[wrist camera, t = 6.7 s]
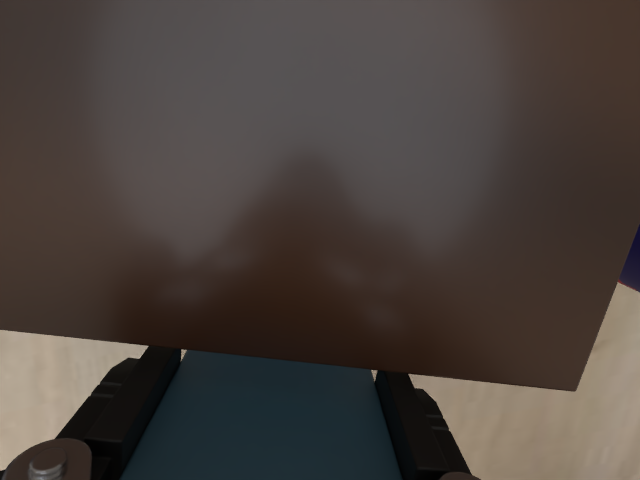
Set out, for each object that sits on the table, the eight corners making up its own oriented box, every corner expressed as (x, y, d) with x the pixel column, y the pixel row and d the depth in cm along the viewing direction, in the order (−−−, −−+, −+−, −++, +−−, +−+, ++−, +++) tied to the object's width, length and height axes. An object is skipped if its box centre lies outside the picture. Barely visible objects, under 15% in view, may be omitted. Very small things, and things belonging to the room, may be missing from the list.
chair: (336, 268, 23) (420, 602, 7) (241, 256, 22) (80, 584, 6) (352, 174, 21) (512, 307, 5) (251, 158, 21) (76, 252, 5)
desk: (426, 250, 23) (576, 393, 10) (151, 213, 22) (-56, 324, 9) (478, 29, 20) (782, -146, 7) (161, -31, 18) (-136, -371, 6)
